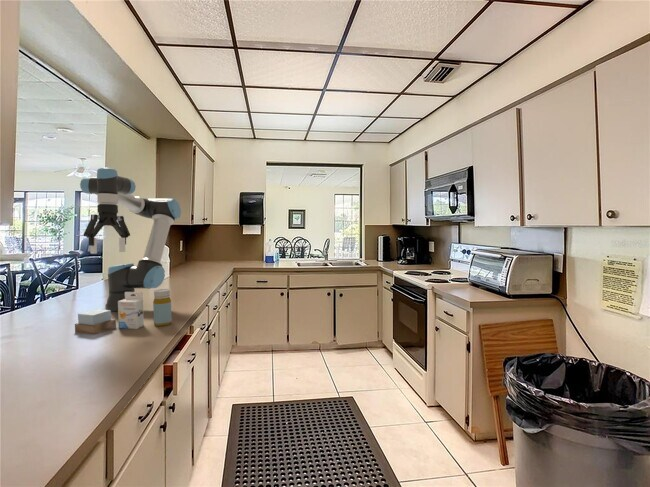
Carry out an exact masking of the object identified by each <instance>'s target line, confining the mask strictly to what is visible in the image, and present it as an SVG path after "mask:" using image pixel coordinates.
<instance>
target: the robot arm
mask: <svg viewBox="0 0 650 487" xmlns="http://www.w3.org/2000/svg"><path fill="white" fill-rule="evenodd" d="M79 186H80V189H81V191H82V193H84V194H88V195H96V196H97V198H96V200H97V201H96V202H97V203H98V204H97V213H98V214H95V213H94V214H91V215H90V220H89V222H88V224H87V226H86V228H85V230H84V232H83V236H84V237H86V238H87V239H88V246H89V247H90V248H89V249H90V254H93V255H94V254H95V255H96V254H98V244H97V243H98V242H97V241H98V238H97V235H98V234H99V232H100V231H101V230H102V229H103V227H104V226H107V227H108V226H111V227H113V229H114V230H115V231H116V233H117V234H118V235H119V237H118V241H119V242H118V249H119V253H126V245H127V238H129V237H130V236H131V233H130V230H129V229H128V226H127V224H126V221H125V217H124V215H118V213H119V206H121V207H122V208H123V207H124V208H126V209H128V210H129V212H131V214H135V215H137V216H140V217H142V218H147V219H151V220H153V224H152V227H151V230H150V234H149V236H148V240H147V243H146V247H145V250H144V254H143V257H142V258H141V259H140V260H138V262H137V265H135V264H134V263H133V262H129V263H123V264H116V265H115V264H114V265H111V266H109V267H108V270H107V277H108V278H107V279H108V280H107V281H108V282H107V283H108V284H107V285H108V297H107V300H106V303H105V307H104V308H105V309H104V310H111V312H118V301H120V300H123V299H125V292H136V291H135V289H148V290H149V289H157V288H158V287H160V286H161V285H162V284H163V282H164V280H165V276H166V274H165V273H166V270H165V268H164V267H163V264H162V262H161V260H162V256H163V254H164V251H165V250H164V249H165V246H166V242H167V238H168V235H169V232H170V228H171V226H172V225H173V224H175V220H178V219H180V218H181V215H182V211H181V210H182V209H181V205H180V203H179V202H178V200H177V199H175V198H169V197H166V198H145V197H144V198H143V197H141V196H135V195H132V194H133V193H134V192H135V191H136V188H137V185H136V183H135V181H134V180H132V179H131V178H128V177H124V176H119V175H118V171H117V170H116V169H115V168H111V167H99V168H97V170H96V176H95V177H94V176H93V177H92V176H90V177H83V178H82V179H80V183H79ZM118 205H119V206H118ZM131 296H137V295H135V294H133V295H131Z"/></svg>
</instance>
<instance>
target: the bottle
mask: <svg viewBox="0 0 650 487" xmlns="http://www.w3.org/2000/svg"><path fill="white" fill-rule="evenodd" d="M170 294H171V290H170V289H169V288H160V289H155V290H154V291H153V298H154V299H153V305H152V306H153V308H152V309H153V324H154V325H155V326H156V327H163V326H164V327H165V326H169V325H170V324H172V299H171V295H170Z"/></svg>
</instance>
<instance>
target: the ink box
mask: <svg viewBox="0 0 650 487" xmlns="http://www.w3.org/2000/svg"><path fill="white" fill-rule="evenodd" d="M133 294H135V295H136V296H131V295H133ZM143 298H144V297H143V292H142V291H135V292H125V299H123V300H120V301H118V311H117V314H118V315H117V318H118V322H117V323H118V329H131V330H133V329H134V330H135V329H136V330H137V329H140V328H142V327H143V326H144V325H145V324H144V323H145V320H144V316H145V315H144V299H143Z"/></svg>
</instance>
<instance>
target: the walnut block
mask: <svg viewBox="0 0 650 487" xmlns="http://www.w3.org/2000/svg"><path fill="white" fill-rule="evenodd" d="M116 320H117V319H116V318H111V320H109V321H105V322H102V323H99V324H96V325H87V324H78V322H77V323H74V333H75V334H84V335H92V336H95V335H98V334H100V333H103V332H107V331H109V330H112V329H116V328H117V321H116Z"/></svg>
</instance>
